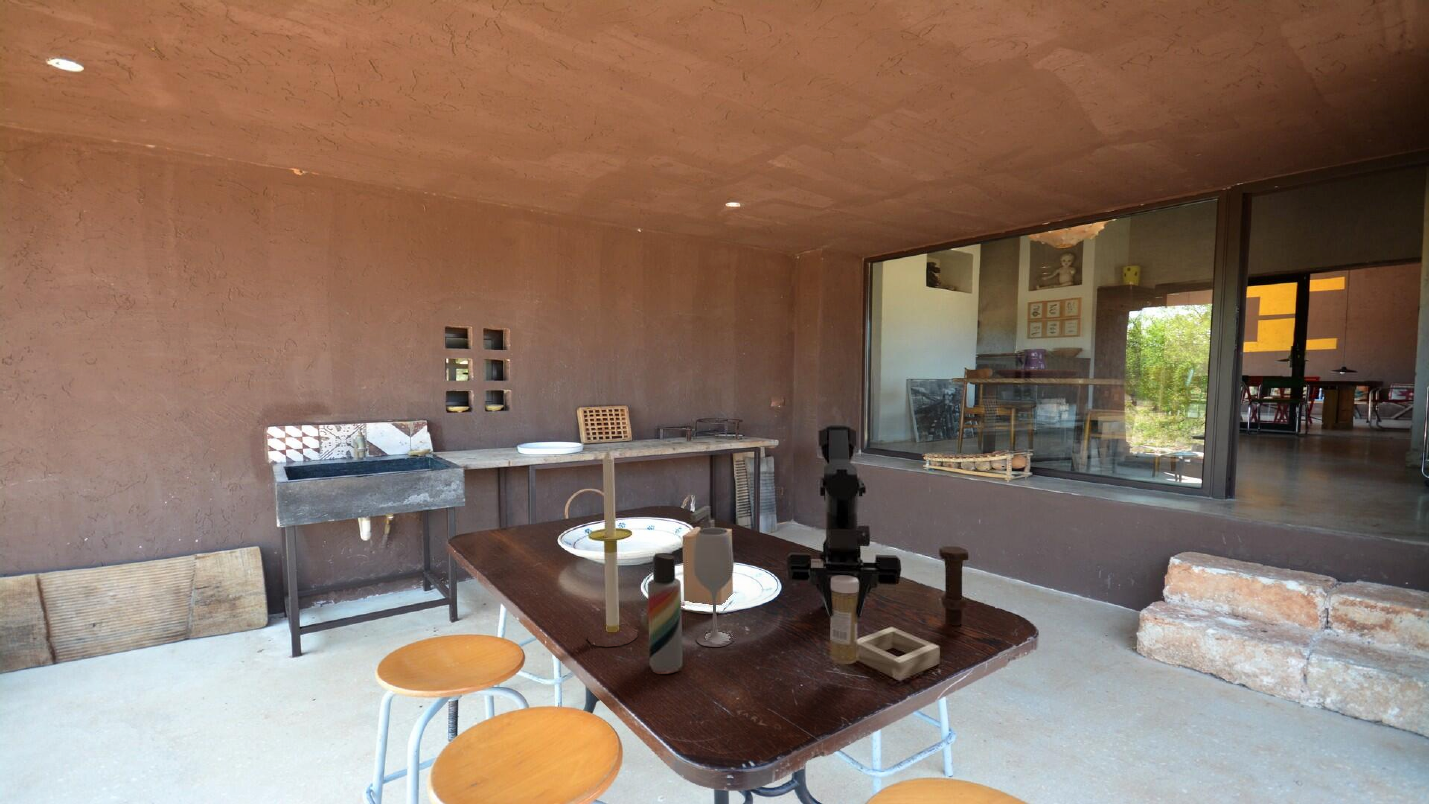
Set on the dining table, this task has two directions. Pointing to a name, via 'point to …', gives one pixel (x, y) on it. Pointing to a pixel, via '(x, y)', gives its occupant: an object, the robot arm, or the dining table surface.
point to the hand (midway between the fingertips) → (844, 616)
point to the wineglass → (714, 568)
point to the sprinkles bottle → (844, 619)
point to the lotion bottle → (664, 615)
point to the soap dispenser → (691, 585)
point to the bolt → (953, 583)
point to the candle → (610, 544)
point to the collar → (902, 667)
